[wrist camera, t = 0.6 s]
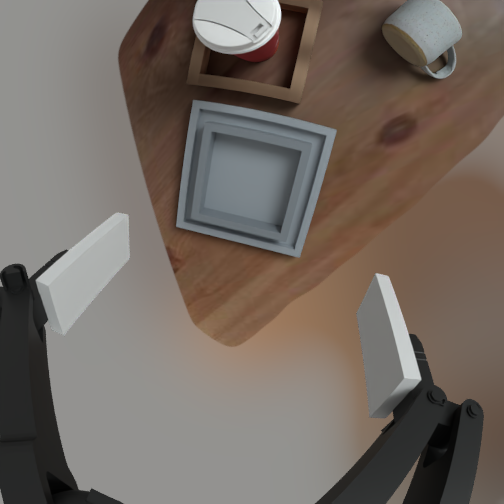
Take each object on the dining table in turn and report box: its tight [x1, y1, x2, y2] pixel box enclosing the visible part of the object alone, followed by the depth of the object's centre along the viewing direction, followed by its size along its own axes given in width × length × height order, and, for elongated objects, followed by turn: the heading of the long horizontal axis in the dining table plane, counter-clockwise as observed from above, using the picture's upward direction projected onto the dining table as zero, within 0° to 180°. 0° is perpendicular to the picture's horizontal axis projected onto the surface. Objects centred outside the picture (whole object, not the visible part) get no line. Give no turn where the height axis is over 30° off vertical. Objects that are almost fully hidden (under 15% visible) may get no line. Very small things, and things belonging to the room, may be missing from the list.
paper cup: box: [193, 0, 281, 62], centre depth 24 cm, size 8×8×14 cm
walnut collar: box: [186, 0, 323, 104], centre depth 29 cm, size 14×14×2 cm
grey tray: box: [176, 100, 337, 258], centre depth 38 cm, size 18×18×3 cm
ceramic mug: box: [382, 0, 462, 79], centre depth 23 cm, size 11×8×8 cm
